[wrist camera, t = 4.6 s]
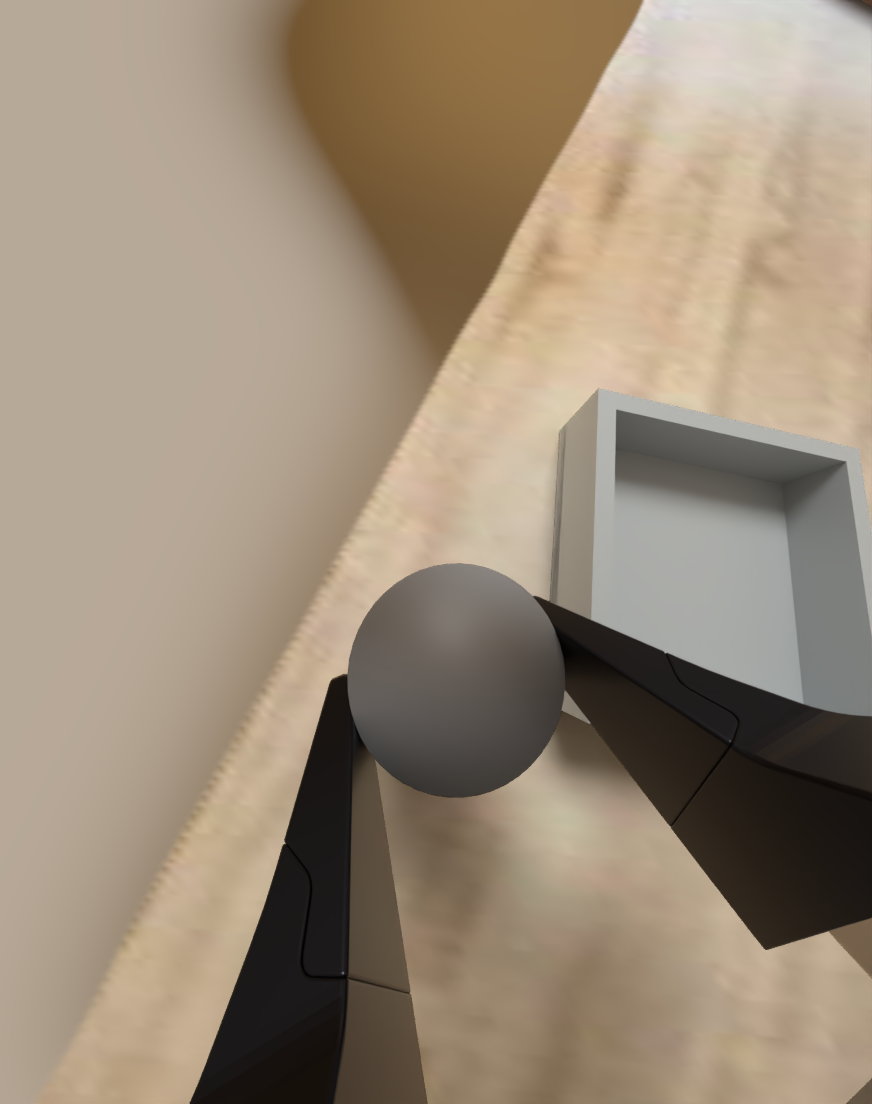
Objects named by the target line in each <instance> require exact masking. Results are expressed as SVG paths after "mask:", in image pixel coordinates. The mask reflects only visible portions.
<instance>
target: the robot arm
mask: <svg viewBox="0 0 872 1104" xmlns="http://www.w3.org/2000/svg"><path fill="white" fill-rule="evenodd" d="M533 598H534V599H535V600H536V601H537V602H538V603H539V604H540V606H541V607H542V609H543V610H544V611H545V613H546V614H547V616H548V617H549V619H550V621H551V623H552V625H553V627H554V629H555V632H556V634H557V637H558V639H559V642H560V646H561V650H562V654H563V659H564V667H565V691H566V692H567V693H568V695H569V696H570V697H571V699H572V700H573V701H574V702H575V704H576V705H577V706H578V708H579V709H580V710H581V712H582V713H583V714H584V715H585V717H586V718H587V719H588V721H589V722H590V723H591V725H592V726H593V727H594V728H595V730H596V731H597V732H598V734H599V735H600V736H601V738H602V739H603V740H604V741H605V743H606V744H607V745H608V747H609V748H610V749H611V751H612V752H613V753H614V754H615V756H616V757H617V758H618V760H619V761H620V762H621V764H622V765H623V766H624V767H625V769H626V770H627V771H628V773H629V774H630V775H631V777H632V778H633V779H634V780H635V782H636V783H637V784H638V786H639V787H640V788H641V790H642V791H643V792H644V793H645V795H646V796H647V797H648V799H649V800H650V801H651V803H652V804H653V805H654V806H655V808H656V809H657V810H658V812H659V813H660V814H661V816H662V817H663V818H664V819H665V821H666V822H667V823H668V825H669V826H671V829H672V830H673V831H674V833H675V834H676V835H677V837H678V838H679V839H680V841H681V842H682V843H683V844H684V846H685V847H686V848H687V850H688V851H689V852H690V854H691V855H692V856H693V857H694V859H695V860H696V861H697V863H698V864H699V865H700V867H701V868H702V869H703V870H704V872H705V873H706V874H707V876H708V877H709V878H710V880H711V881H712V882H713V883H714V885H715V886H716V887H717V889H718V890H719V891H720V893H721V894H722V895H723V896H724V898H725V899H726V900H727V902H728V903H729V904H730V906H731V907H732V908H733V909H734V911H735V912H736V913H737V915H738V916H739V917H740V919H741V920H742V921H743V922H744V924H745V925H746V926H747V928H748V929H749V930H750V932H751V933H752V934H753V935H754V937H755V938H756V939H757V940H758V942H759V943H760V944H761V945H762V946H763V948H764V949H765V950H768V949H772V948H775V947H778V946H782V945H785V944H788V943H791V942H795V941H798V940H801V939H805V938H808V937H811V936H814V935H818V934H821V933H824V932H828V931H829V933H830V934H831V935H832V936H833V937H834V938H835V939H836V940H837V941H838V942H839V944H840V945H841V946H842V947H843V948H844V949H845V950H846V951H847V952H848V953H849V954H850V956H851V957H852V958H853V959H854V960H855V961H856V962H857V963H858V964H859V965H860V966H861V968H862V969H863V970H864V971H865V972H866V973H867V974H868V975H869V976H870V977H871V978H872V716H861V715H850V714H843V713H837V712H832V711H827V710H823V709H819V708H815V707H812V706H809V705H806V704H803V703H800V702H797V701H794V700H791V699H788V698H785V697H783V696H780V695H777V694H774V693H771V692H768V691H766V690H763V689H760V688H757V687H754V686H751V685H749V684H746V683H743V682H740V681H737V680H735V679H732V678H729V677H726V676H724V675H721V674H718V673H716V672H713V671H710V670H708V669H705V668H703V667H700V666H698V665H696V664H693V663H691V662H688V661H686V660H683V659H681V658H679V657H676V656H674V655H672V654H669V653H665V652H664V651H662V650H660V649H658V648H655V647H653V646H651V645H648V644H646V643H644V642H641V641H639V640H637V639H635V638H632V637H630V636H628V635H625V634H623V633H621V632H618V631H616V630H614V629H611V628H609V627H607V626H605V625H602V624H600V623H598V622H595V621H593V620H591V619H588V618H586V617H584V616H581V615H579V614H577V613H575V612H572V611H570V610H568V609H565V608H563V607H561V606H558V605H556V604H554V603H551V602H549V601H547V600H544V599H542V598H540V597H537V596H533ZM284 841H285V843H286V844H283V846H282V849H281V853H280V856H279V860H278V863H277V866H276V870H275V873H274V876H273V879H272V883H271V886H270V889H269V892H268V895H267V899H266V902H265V905H264V908H263V911H262V914H261V916H260V919H259V922H258V925H257V928H256V930H255V933H254V936H253V939H252V942H251V944H250V947H249V950H248V953H247V955H246V958H245V961H244V963H243V966H242V969H241V971H240V974H239V977H238V979H237V982H236V985H235V987H234V990H233V993H232V995H231V998H230V1001H229V1003H228V1006H227V1009H226V1011H225V1014H224V1017H223V1019H222V1022H221V1025H220V1027H219V1030H218V1033H217V1035H216V1038H215V1041H214V1043H213V1046H212V1049H211V1051H210V1054H209V1057H208V1059H207V1062H206V1065H205V1067H204V1070H203V1072H202V1075H201V1077H200V1080H199V1083H198V1085H197V1087H196V1090H195V1092H194V1094H193V1097H192V1099H191V1101H190V1104H428V1103H427V1097H426V1090H425V1084H424V1077H423V1070H422V1064H421V1057H420V1051H419V1044H418V1037H417V1031H416V1024H415V1018H414V1011H413V1004H412V998H411V994H409V993H410V985H409V979H408V972H407V966H406V959H405V952H404V946H403V939H402V933H401V926H400V920H399V913H398V906H397V900H396V893H395V887H394V880H393V874H392V867H391V860H390V854H389V847H388V841H387V834H386V827H385V821H384V814H383V808H382V801H381V795H380V788H379V781H378V775H377V768H376V762H375V758H374V757H373V756H372V754H371V753H370V752H369V750H368V749H367V747H366V745H365V744H364V742H363V740H362V739H361V737H360V735H359V732H358V730H357V728H356V725H355V723H354V719H353V716H352V712H351V709H350V703H349V696H348V675H347V674H343V675H340V676H338V677H335V678H333V679H332V680H331V681H330V684H329V687H328V690H327V694H326V697H325V701H324V704H323V708H322V711H321V715H320V718H319V722H318V725H317V729H316V732H315V735H314V739H313V742H312V746H311V749H310V753H309V756H308V760H307V763H306V767H305V770H304V774H303V777H302V780H301V784H300V787H299V791H298V794H297V798H296V801H295V805H294V808H293V812H292V815H291V819H290V822H289V825H288V829H287V832H286V836H285V839H284ZM846 1104H872V1079H871V1080H870V1081H869V1082H868V1083H867V1084H866V1085H865V1086H864V1087H863V1088H862V1089H861V1090H860V1091H859V1092H858V1093H857V1094H856V1095H855V1096H853V1097H852V1098H851V1099H850V1100H849V1101H848V1102H847V1103H846Z"/></svg>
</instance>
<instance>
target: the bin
mask: <svg viewBox="0 0 872 1104" xmlns="http://www.w3.org/2000/svg"><path fill="white" fill-rule="evenodd" d="M550 602H551V603H554V604H556V605H558V606H561V607H563V608H565V609H568V610H570V611H572V612H575V613H577V614H579V615H581V616H584V617H586V618H588V619H591V620H593V621H595V622H598V623H600V624H602V625H605V626H607V627H609V628H611V629H614V630H616V631H618V632H621V633H623V634H625V635H628V636H630V637H632V638H635V639H637V640H639V641H641V642H644V643H646V644H648V645H651V646H653V647H655V648H658V649H660V650H662V651H664V652H665V653H669V654H672V655H674V656H676V657H679V658H681V659H683V660H686V661H688V662H691V663H693V664H696V665H698V666H700V667H703V668H705V669H708V670H710V671H713V672H716V673H718V674H721V675H724V676H726V677H729V678H732V679H735V680H737V681H740V682H743V683H746V684H749V685H751V686H754V687H757V688H760V689H763V690H766V691H768V692H771V693H774V694H777V695H780V696H783V697H785V698H788V699H791V700H794V701H797V702H800V703H803V704H806V705H809V706H812V707H815V708H819V709H823V710H827V711H832V712H837V713H843V714H850V715H861V716H872V531H871V524H870V518H869V511H868V505H867V498H866V492H865V485H864V479H863V472H862V466H861V459H860V453H859V449H857V448H853V447H848V446H844V445H840V444H835V443H831V442H827V441H823V440H818V439H814V438H810V437H805V436H801V435H797V434H793V433H788V432H784V431H780V430H775V429H771V428H767V427H763V426H758V425H754V424H750V423H745V422H741V421H737V420H733V419H728V418H724V417H720V416H715V415H711V414H707V413H703V412H698V411H694V410H690V409H685V408H681V407H677V406H673V405H668V404H664V403H660V402H655V401H651V400H647V399H643V398H638V397H634V396H630V395H625V394H621V393H617V392H613V391H608V390H604V389H600V388H598V389H597V391H596V392H595V393H594V394H593V395H592V396H591V397H590V398H589V399H588V400H587V401H586V403H585V404H584V405H583V406H582V407H581V408H580V409H579V410H578V411H577V412H576V413H575V415H574V416H573V417H572V418H571V419H570V420H569V421H568V422H567V423H566V424H565V425H564V427H563V428H562V429H561V430H560V438H559V455H558V472H557V489H556V506H555V523H554V539H553V556H552V573H551V590H550ZM562 711H564V712H566V713H568V714H570V715H572V716H574V717H576V718H578V719H580V720H582V721H584V722H586V723H590V722H589V721H588V719H587V718H586V717H585V715H584V714H583V713H582V712H581V710H580V709H579V708H578V706H577V705H576V704H575V702H574V701H573V700H572V699H571V697H570V696H569V695H568V693H567V692H566V691H565V693H564V701H563V706H562Z"/></svg>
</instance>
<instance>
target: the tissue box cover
mask: <svg viewBox="0 0 872 1104" xmlns="http://www.w3.org/2000/svg"><path fill="white" fill-rule="evenodd" d="M861 1H863V2H865V3H866V4H868V5H870V6H872V0H861Z"/></svg>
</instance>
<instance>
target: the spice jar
mask: <svg viewBox="0 0 872 1104" xmlns="http://www.w3.org/2000/svg"><path fill="white" fill-rule="evenodd" d="M564 693H565V667H564V659H563V654H562V650H561V646H560V642H559V639H558V637H557V634H556V632H555V629H554V627H553V625H552V623H551V621H550V619H549V617H548V616H547V614H546V613H545V611H544V610H543V609H542V607H541V606H540V604H539V603H538V602H537V601H536V600H535V599H534V598H533V596H532V595H531V594H530V593H528V592H527V591H526V590H525V589H524V588H523V587H522V586H520V585H519V584H518V583H516V582H515V581H513V580H512V579H510V578H509V577H507V576H505V575H503V574H501V573H499V572H496V571H494V570H491V569H488V568H485V567H481V566H477V565H471V564H461V563H458V564H443V565H437V566H432V567H429V568H426V569H423V570H420V571H418V572H415V573H413V574H411V575H409V576H407V577H405V578H404V579H402V580H401V581H399V582H397V583H396V584H395V585H393V586H392V587H391V588H390V589H389V590H387V591H386V592H385V593H384V594H383V595H382V596H381V597H380V598H379V599H378V600H377V602H376V603H375V604H374V605H373V607H372V608H371V609H370V611H369V612H368V614H367V615H366V617H365V618H364V620H363V622H362V624H361V626H360V628H359V630H358V632H357V635H356V637H355V640H354V643H353V646H352V650H351V654H350V658H349V666H348V696H349V703H350V709H351V712H352V716H353V719H354V723H355V725H356V728H357V730H358V732H359V735H360V737H361V739H362V740H363V742H364V744H365V745H366V747H367V749H368V750H369V752H370V753H371V754H372V756H373V757H374V758H375V759H376V761H377V762H378V763H379V764H380V765H381V766H382V767H383V768H384V769H385V770H386V771H387V772H389V773H390V774H391V775H392V776H394V777H395V778H396V779H398V780H399V781H401V782H402V783H404V784H406V785H408V786H410V787H412V788H414V789H416V790H418V791H421V792H424V793H427V794H431V795H435V796H442V797H458V798H463V797H470V796H477V795H481V794H484V793H487V792H491V791H493V790H496V789H498V788H500V787H502V786H504V785H506V784H508V783H509V782H511V781H512V780H514V779H515V778H517V777H518V776H520V775H521V774H522V773H523V772H524V771H525V770H527V769H528V768H529V767H530V766H531V765H532V764H533V763H534V761H535V760H536V759H537V758H538V757H539V756H540V754H541V753H542V752H543V750H544V749H545V747H546V746H547V744H548V743H549V741H550V739H551V737H552V735H553V733H554V731H555V729H556V726H557V723H558V720H559V717H560V714H561V710H562V706H563V701H564Z"/></svg>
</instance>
